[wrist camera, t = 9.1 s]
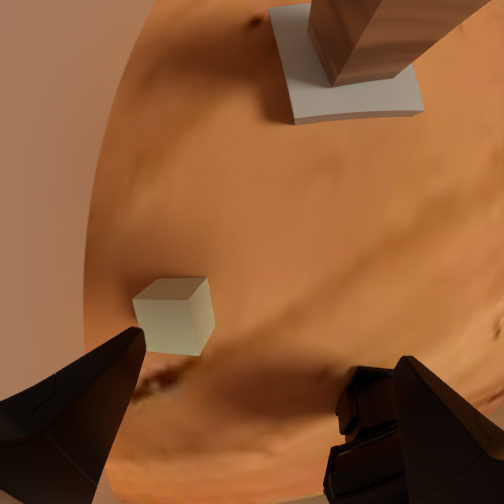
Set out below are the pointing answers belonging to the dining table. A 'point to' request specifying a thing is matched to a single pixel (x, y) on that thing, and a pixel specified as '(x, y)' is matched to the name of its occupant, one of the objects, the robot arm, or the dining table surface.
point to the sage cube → (175, 315)
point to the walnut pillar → (379, 34)
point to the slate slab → (317, 84)
